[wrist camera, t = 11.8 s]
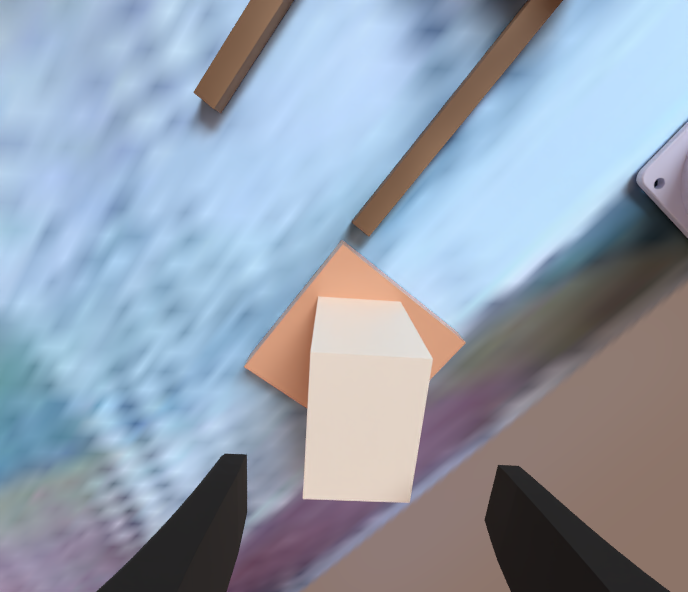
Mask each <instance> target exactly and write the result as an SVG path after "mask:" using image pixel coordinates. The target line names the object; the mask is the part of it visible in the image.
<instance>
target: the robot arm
mask: <svg viewBox="0 0 688 592" xmlns="http://www.w3.org/2000/svg"><path fill="white" fill-rule="evenodd" d="M656 180H658V185H657V186H656V187H655V188H654V182H655V181H656ZM637 183H638V185H639V186H640V187H641V188H642V190H643V191H644V192H645V193H646V194H647V195H648V196H649V197H650V198H651V199H652V200H653V201H654V202H655V204H656V205H657V206H658V207H659V208H660V209H661V210H662V211H663V212H664V213H665V214H666V215H667V216H668V218H669V219H670V220H671V221H672V222H673V223H674V224H675V225H676V226H677V227H678V228H679V229H680V230H681V232H682V233H683V234H684V235H685V236H686V237H687V238H688V122H687V123H686V124H685V125H684V126H683V127H682V128H681V129H680V130H679V131H678V132H677V133H676V134H675V135H674V136H673V137H672V138H671V139H670V140H669V141H668V142H667V143H666V144H665V145H664V146H663V147H662V148H661V149H660V151H659V152H658V153H657V154H656V155H655V156H654V157H653V158H652V159H651V160H650V161H649V162H648V163H647V164H646V165H645V166H644V167H643V168H642V169H641V170H640V171H639V173H638V175H637ZM246 515H247V455H244V454H224V455H223V456H221V457H220V459H219V460H218V461H217V463H216V464H215V465H214V466H213V468H212V469H211V470H210V472H209V473H208V474H207V475H206V477H205V478H204V479H203V480H202V482H201V483H200V484H199V485H198V486H197V488H196V489H195V490H194V491H193V492H192V494H191V495H190V496H189V497H188V498H187V499H186V501H185V502H184V503H183V504H182V505H181V506H180V507H179V509H178V510H177V511H176V512H175V513H174V514H173V515H172V517H171V518H170V519H169V520H168V521H167V522H166V523H165V524H164V525H163V526H162V527H161V529H160V530H159V531H158V532H157V533H156V534H155V535H154V536H153V537H152V538H151V539H150V540H149V541H148V542H147V543H146V544H145V545H144V546H143V547H142V548H141V549H140V550H139V552H138V553H137V554H136V555H135V556H134V557H133V558H131V559H130V560H129V561H128V562H127V563H126V564H125V565H124V566H123V567H122V568H121V569H120V570H119V571H118V572H117V573H116V574H115V575H114V576H113V577H112V578H111V579H110V580H109V581H107V582H106V583H105V584H104V585H103V586H102V587H101V588H100V589H99V590H98V591H97V592H226V591H227V588H228V585H229V582H230V578H231V575H232V572H233V569H234V566H235V562H236V559H237V556H238V552H239V548H240V543H241V539H242V534H243V529H244V524H245V520H246ZM485 523H486V526H487V529H488V533H489V536H490V539H491V542H492V545H493V548H494V551H495V554H496V557H497V560H498V563H499V565H500V567H501V570H502V572H503V574H504V577H505V579H506V581H507V584H508V586H509V588H510V590H511V592H670V591H669V590H667V589H666V588H664V587H663V586H662V585H661V584H659V583H658V582H657V581H655V580H654V579H653V578H651V577H650V576H649V575H647V574H646V573H644V572H643V571H642V570H641V569H640V568H638V567H637V566H636V565H635V564H633V563H632V562H631V561H630V560H628V559H627V558H626V557H625V556H623V555H622V554H621V553H620V552H618V551H617V550H616V549H615V548H613V547H612V546H611V545H610V544H609V543H607V542H606V541H605V540H604V539H603V538H601V537H600V536H599V535H598V534H597V533H595V532H594V531H593V530H592V529H591V528H590V527H588V526H587V525H586V524H585V523H584V522H582V521H581V520H580V519H579V518H578V517H577V516H575V514H573V513H572V512H571V511H570V510H569V509H568V508H567V507H565V506H564V505H563V504H562V503H561V502H560V501H559V500H557V499H556V498H555V497H554V496H553V495H552V494H551V493H550V492H548V491H547V490H546V489H545V488H544V487H543V486H542V485H540V484H539V483H538V482H537V481H536V480H535V479H534V478H533V477H531V476H530V475H529V474H528V473H527V472H525V471H524V470H523V469H522V468H521V467H519V466H508V465H498V467H497V471H496V476H495V480H494V484H493V488H492V492H491V496H490V500H489V504H488V509H487V512H486V516H485Z"/></svg>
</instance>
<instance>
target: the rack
mask: <svg viewBox="0 0 688 592" xmlns="http://www.w3.org/2000/svg"><path fill="white" fill-rule="evenodd" d="M293 1H294V0H250V2H249V3H248V5H247V7H246V8H245V10H244V11H243V13H242V15H241V16H240V18H239V20H238V21H237V23H236V24H235V26H234V28H233V29H232V31H231V32H230V34H229V36H228V37H227V39H226V41H225V42H224V44H223V45H222V47H221V49H220V50H219V52H218V53H217V55H216V57H215V58H214V60H213V62H212V63H211V65H210V66H209V68H208V70H207V71H206V73H205V74H204V76H203V78H202V79H201V81H200V83H199V84H198V86H197V87H196V89H195V91H194V93H195V94H196V95H197V96H198V97H200V98H201V99H202V100H203V101H204V102H206V103H207V104H208V105H209V106H211V107H212V108H213V109H214V110H216V111H218V112H219V113H222V111H223V110H224V108H225V106H226V105H227V103H228V102H229V100H230V99H231V97H232V96H233V94H234V93H235V91H236V89H237V88H238V86H239V85H240V83H241V82H242V80H243V79H244V77H245V76H246V74H247V72H248V71H249V69H250V68H251V66H252V65H253V63H254V62H255V60H256V59H257V57H258V55H259V54H260V52H261V51H262V49H263V48H264V46H265V45H266V43H267V42H268V40H269V38H270V37H271V35H272V34H273V32H274V31H275V29H276V28H277V26H278V25H279V23H280V21H281V20H282V18H283V17H284V15H285V14H286V12H287V11H288V9H289V8H290V6H291V4H292V3H293ZM562 1H563V0H528V1H527V2H526V3H525V4H524V6H523V7H522V8H521V9H520V11H519V12H518V13H517V14H516V16H515V17H514V18H513V20H512V21H511V22H510V23H509V25H508V26H507V27H506V28H505V30H504V31H503V32H502V33H501V35H500V36H499V37H498V38H497V40H496V41H495V42H494V43H493V45H492V46H491V47H490V48H489V50H488V51H487V52H486V53H485V55H484V56H483V57H482V58H481V60H480V61H479V62H478V63H477V65H476V66H475V67H474V68H473V70H472V71H471V72H470V73H469V75H468V76H467V77H466V78H465V80H464V81H463V82H462V83H461V85H460V86H459V87H458V88H457V90H456V91H455V92H454V93H453V95H452V96H451V97H450V98H449V100H448V101H447V102H446V103H445V105H444V106H443V107H442V108H441V110H440V111H439V112H438V114H437V115H436V116H435V117H434V119H433V120H432V121H431V122H430V124H429V125H428V126H427V127H426V129H425V130H424V131H423V132H422V134H421V135H420V136H419V137H418V139H417V140H416V141H415V142H414V144H413V145H412V146H411V147H410V149H409V150H408V151H407V152H406V154H405V155H404V156H403V157H402V159H401V160H400V161H399V162H398V164H397V165H396V166H395V167H394V169H393V170H392V171H391V172H390V174H389V175H388V176H387V177H386V179H385V180H384V181H383V182H382V184H381V185H380V186H379V187H378V189H377V190H376V191H375V192H374V194H373V195H372V196H371V197H370V199H369V200H368V201H367V202H366V204H365V205H364V206H363V208H362V209H361V210H360V211H359V213H358V214H357V215H356V216H355V218H354V219H353V220H352V223H353V224H354V225H355V226H357V227H358V228H359V229H360V230H361V231H363V232H364V233H365V234H366V235H368V236H370V235H371V234H372V232H373V231H374V230H375V229H376V228H377V226H378V225H379V224H380V223H381V221H382V220H383V219H384V218H385V217H386V215H387V214H388V213H389V212H390V210H391V209H392V208H393V207H394V206H395V204H396V203H397V202H398V201H399V200H400V198H401V197H402V196H403V195H404V193H405V192H406V191H407V190H408V189H409V187H410V186H411V185H412V184H413V182H414V181H415V180H416V179H417V178H418V176H419V175H420V174H421V173H422V171H423V170H424V169H425V168H426V167H427V165H428V164H429V163H430V162H431V161H432V159H433V158H434V157H435V156H436V154H437V153H438V152H439V151H440V150H441V148H442V147H443V146H444V145H445V143H446V142H447V141H448V140H449V139H450V137H451V136H452V135H453V134H454V133H455V131H456V130H457V129H458V128H459V126H460V125H461V124H462V123H463V122H464V120H465V119H466V118H467V117H468V115H469V114H470V113H471V112H472V111H473V109H474V108H475V107H476V106H477V104H478V103H479V102H480V101H481V100H482V98H483V97H484V96H485V95H486V94H487V92H488V91H489V90H490V89H491V87H492V86H493V85H494V84H495V83H496V81H497V80H498V79H499V78H500V76H501V75H502V74H503V73H504V72H505V70H506V69H507V68H508V67H509V65H510V64H511V63H512V62H513V61H514V59H515V58H516V57H517V56H518V55H519V53H520V52H521V51H522V50H523V48H524V47H525V46H526V45H527V44H528V42H529V41H530V40H531V39H532V37H533V36H534V35H535V34H536V33H537V31H538V30H539V29H540V28H541V26H542V25H543V24H544V23H545V22H546V20H547V19H548V18H549V17H550V16H551V14H552V13H553V12H554V11H555V9H556V8H557V7H558V6H559V5H560V3H561V2H562Z"/></svg>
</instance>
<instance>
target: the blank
mask: <svg viewBox="0 0 688 592" xmlns="http://www.w3.org/2000/svg"><path fill="white" fill-rule="evenodd" d="M432 362H433V358H432V356H431V355H430V353H429V351H428V349H427V347H426V346H425V344H424V342H423V340H422V339H421V337H420V335H419V333H418V332H417V330H416V328H415V326H414V324H413V323H412V321H411V319H410V317H409V316H408V314H407V312H406V310H405V309H404V307H403V305H402V303H401V302H399V301H383V300H367V299H351V298H335V297H319V296H318V301H317V309H316V316H315V323H314V330H313V337H312V345H311V352H310V371H309V390H308V409H307V429H306V448H305V467H304V487H303V499H320V500H348V501H375V502H403V503H410V497H411V491H412V484H413V478H414V472H415V466H416V460H417V454H418V448H419V441H420V435H421V429H422V423H423V417H424V411H425V405H426V398H427V392H428V386H429V380H430V374H431V368H432Z"/></svg>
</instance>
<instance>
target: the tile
mask: <svg viewBox="0 0 688 592" xmlns="http://www.w3.org/2000/svg"><path fill="white" fill-rule="evenodd" d="M318 296H319V297H335V298H351V299H367V300H383V301H399V302H401V303H402V305H403V307H404V309H405V310H406V312H407V314H408V316H409V317H410V319H411V321H412V323H413V324H414V326H415V328H416V330H417V332H418V333H419V335H420V337H421V339H422V340H423V342H424V344H425V346H426V347H427V349H428V351H429V353H430V355H431V356H432V358H433V362H432V368H431V374H430V379H431V378H432V377H433V376H434V375H435V374H436V373H437V372H438V371H439V370H440V369H441V368H442V367H443V366H444V365H445V364H446V363H447V362H448V361H449V360H450V359H451V357H452V356H453V355H454V354H455V353H456V352H457V351H458V350H459V349H460V348H461V347H462V346H463V345H464V344H465V343H466V342H465V341H464V340H463V339H462V338H461V336H460V335H459V334H458V333H457V332H456V331H455V330H454V329H453V328H452V327H450V326H449V325H448V324H447V323H445V322H444V321H443V320H442V319H440V318H439V317H438V316H437V315H435V314H434V313H433V312H432V311H430V310H429V309H428V308H427V307H425V306H424V305H423V304H422V303H421V302H419V301H418V300H417V299H416V298H414V297H413V296H412V295H411V294H409V293H408V292H407V291H406V290H404V289H403V288H402V287H401V286H399V285H398V284H397V283H396V282H394V281H393V280H392V279H391V278H389V277H388V276H387V275H386V274H384V273H383V272H382V271H381V270H379V269H378V268H377V267H376V266H374V265H373V264H372V263H371V262H369V261H368V260H367V259H366V258H364V257H363V256H362V255H361V254H360V253H358V252H357V251H356V250H355V249H353V248H352V247H351V246H350V245H348V244H347V243H346V242H345V241H343V240H341V241H340V243H339V244H338V245H337V246H336V248H335V249H334V250H333V251H332V253H331V254H330V255H329V256H328V258H327V259H326V260H325V261H324V263H323V264H322V265H321V266H320V268H319V269H318V270H317V271H316V273H315V274H314V275H313V276H312V278H311V279H310V280H309V281H308V283H307V284H306V285H305V286H304V288H303V289H302V290H301V291H300V293H299V294H298V295H297V296H296V298H295V299H294V300H293V301H292V303H291V304H290V305H289V306H288V308H287V309H286V310H285V311H284V313H283V314H282V315H281V316H280V318H279V319H278V320H277V321H276V323H275V324H274V325H273V326H272V328H271V329H270V330H269V331H268V333H267V334H266V335H265V336H264V338H263V339H262V340H261V341H260V343H259V344H258V345H257V346H256V348H255V349H254V350H253V351H252V352H251V354H250V356H249V358H248V360H247V362H246V364H245V366H244V367H245V368H247V369H248V370H250V371H251V372H253V373H254V374H256V375H257V376H259V377H260V378H262V379H263V380H265V381H266V382H268V383H269V384H271V385H272V386H274V387H275V388H277V389H278V390H280V391H281V392H283V393H284V394H286V395H287V396H289V397H290V398H292V399H293V400H295V401H296V402H298V403H299V404H301V405H302V406H304V407H305V408H307V409H308V390H309V371H310V352H311V345H312V337H313V330H314V323H315V316H316V309H317V301H318Z"/></svg>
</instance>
